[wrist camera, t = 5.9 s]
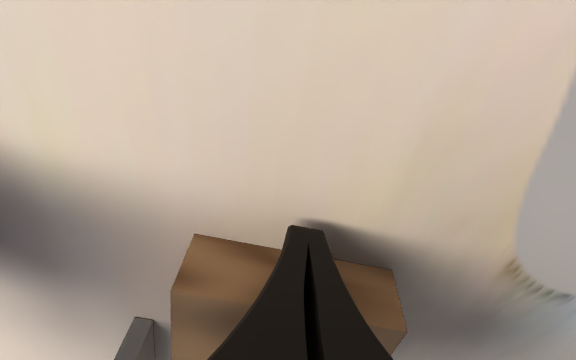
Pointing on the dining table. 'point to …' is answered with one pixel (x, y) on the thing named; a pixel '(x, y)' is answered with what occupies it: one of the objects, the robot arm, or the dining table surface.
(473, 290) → the dining table surface
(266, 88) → the dining table surface
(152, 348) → the grey u-shaped bracket
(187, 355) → the walnut block
